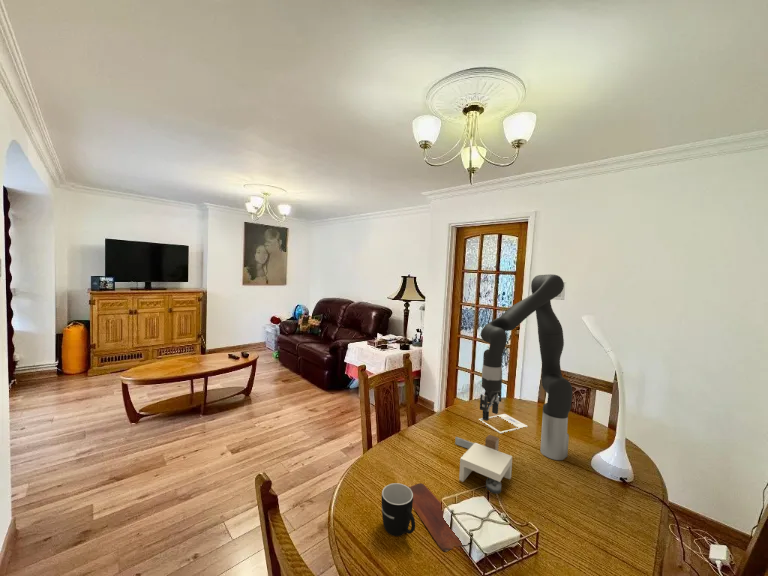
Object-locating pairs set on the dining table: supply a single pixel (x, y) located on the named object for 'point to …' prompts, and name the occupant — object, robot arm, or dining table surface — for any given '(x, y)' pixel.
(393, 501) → the mug
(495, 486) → the token
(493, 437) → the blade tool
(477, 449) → the plinth shelf
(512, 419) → the photo frame
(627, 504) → the dining table surface
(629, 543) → the dining table surface
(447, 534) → the wooden tablet
